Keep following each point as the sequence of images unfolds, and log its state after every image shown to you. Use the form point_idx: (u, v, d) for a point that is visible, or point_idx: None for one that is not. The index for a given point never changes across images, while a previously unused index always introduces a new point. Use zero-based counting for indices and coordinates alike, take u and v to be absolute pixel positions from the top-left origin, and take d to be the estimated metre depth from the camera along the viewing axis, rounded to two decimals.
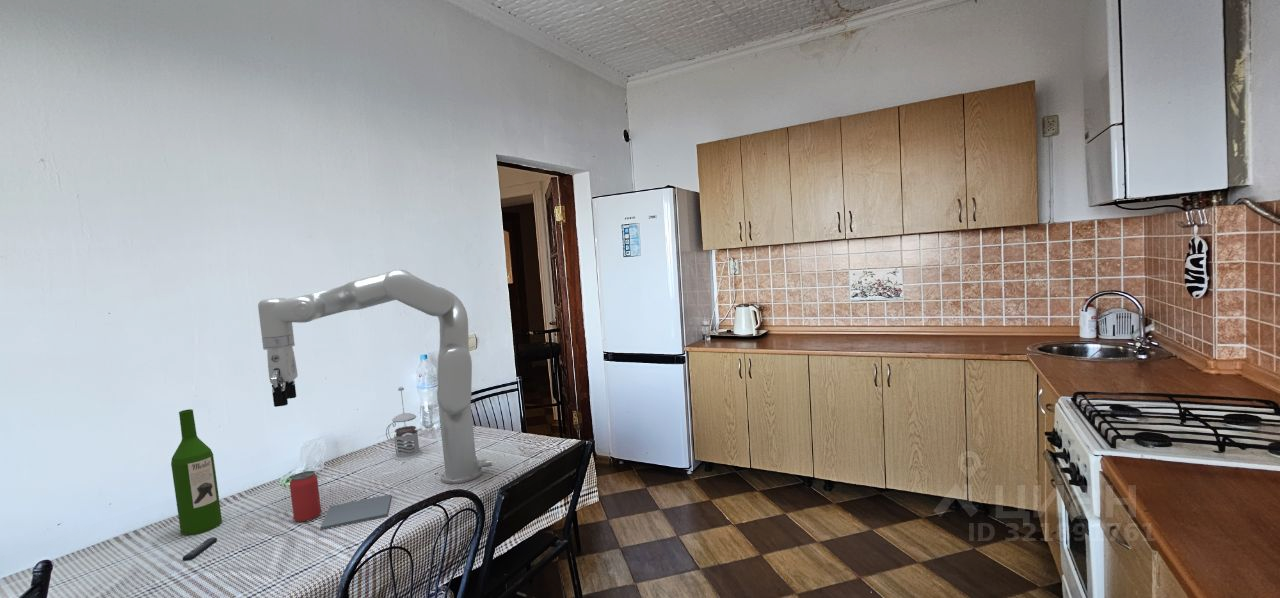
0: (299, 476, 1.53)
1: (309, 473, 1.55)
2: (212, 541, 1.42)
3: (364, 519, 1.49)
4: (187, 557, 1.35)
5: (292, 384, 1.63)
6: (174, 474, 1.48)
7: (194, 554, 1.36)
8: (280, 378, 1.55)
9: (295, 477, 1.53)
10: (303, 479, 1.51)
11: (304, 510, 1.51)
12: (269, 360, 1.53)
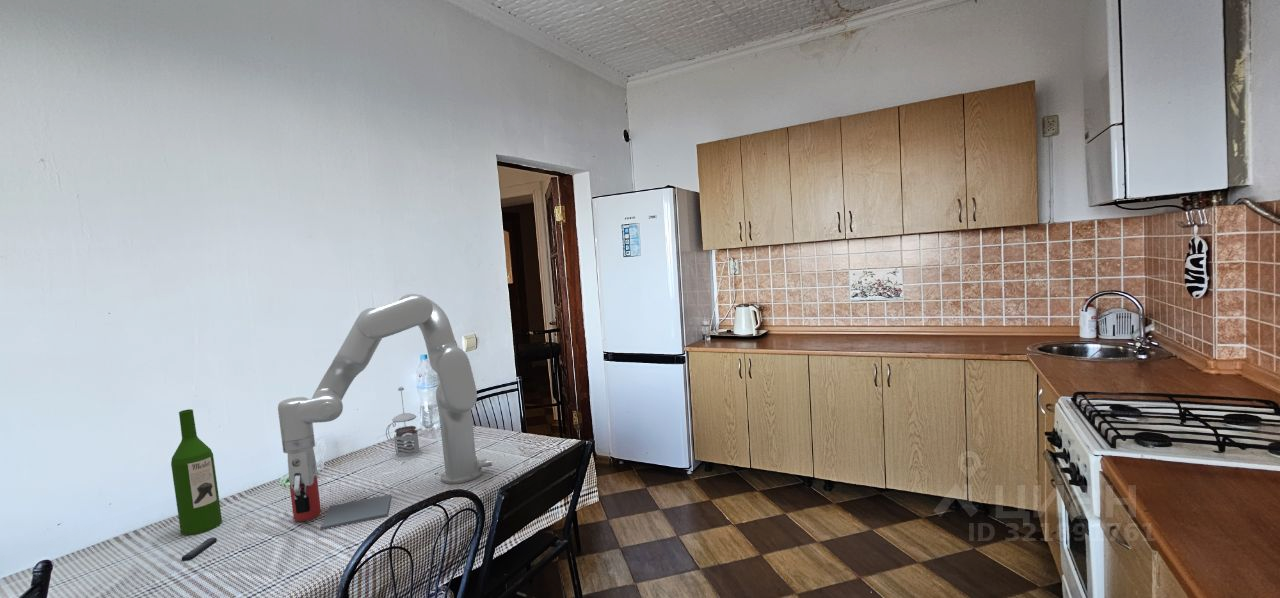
0: None
1: None
2: (212, 541, 1.42)
3: (364, 519, 1.49)
4: (186, 557, 1.35)
5: None
6: (174, 474, 1.48)
7: (193, 554, 1.36)
8: (301, 482, 1.50)
9: None
10: None
11: None
12: (290, 465, 1.48)
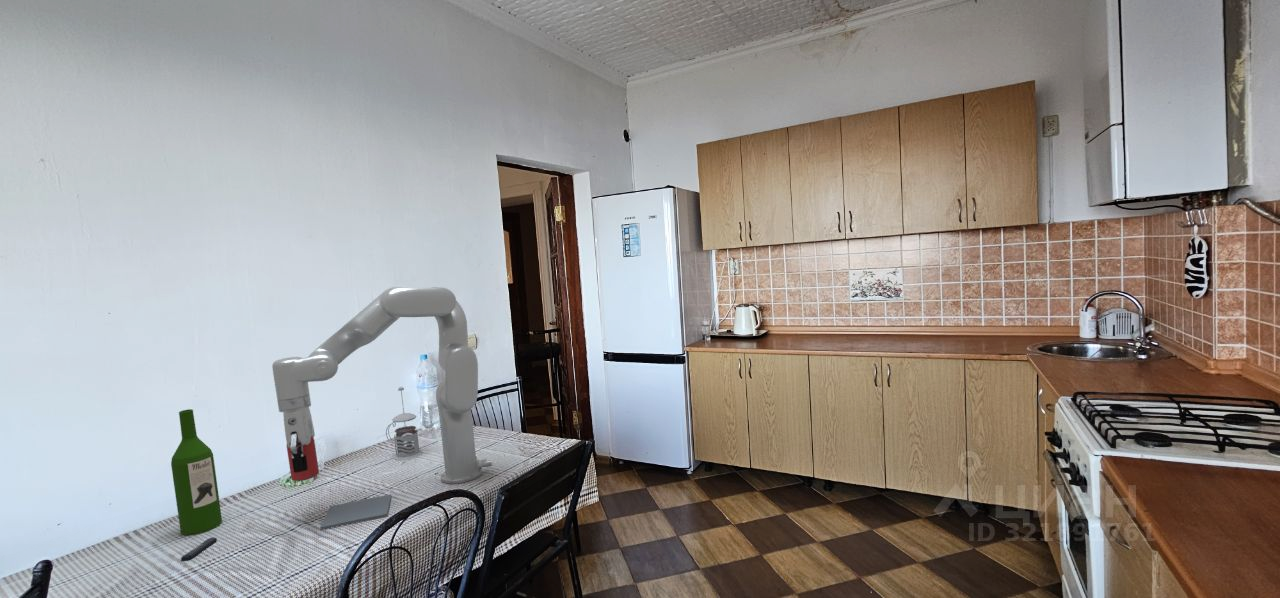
0: None
1: None
2: (212, 541, 1.42)
3: (364, 519, 1.49)
4: (185, 557, 1.35)
5: None
6: (174, 474, 1.48)
7: (193, 554, 1.36)
8: (297, 441, 1.50)
9: None
10: None
11: None
12: (286, 423, 1.48)
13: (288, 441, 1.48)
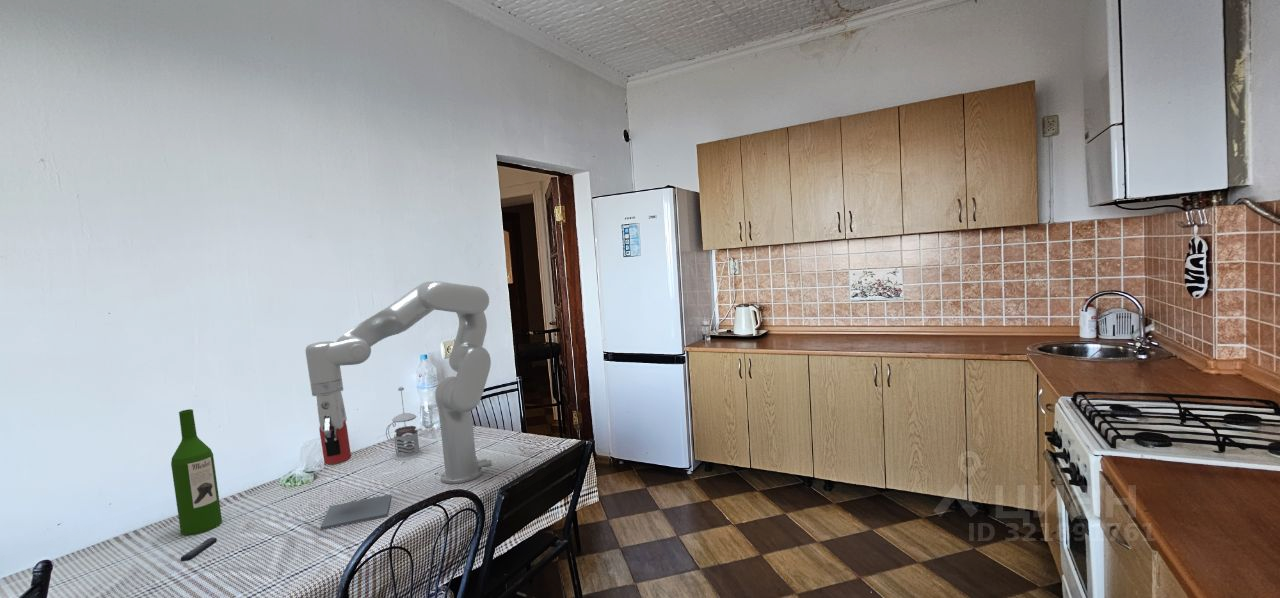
0: None
1: None
2: (211, 541, 1.42)
3: (364, 519, 1.49)
4: (185, 557, 1.35)
5: None
6: (174, 474, 1.48)
7: (193, 554, 1.36)
8: (330, 425, 1.50)
9: None
10: None
11: None
12: (319, 407, 1.48)
13: (321, 425, 1.48)
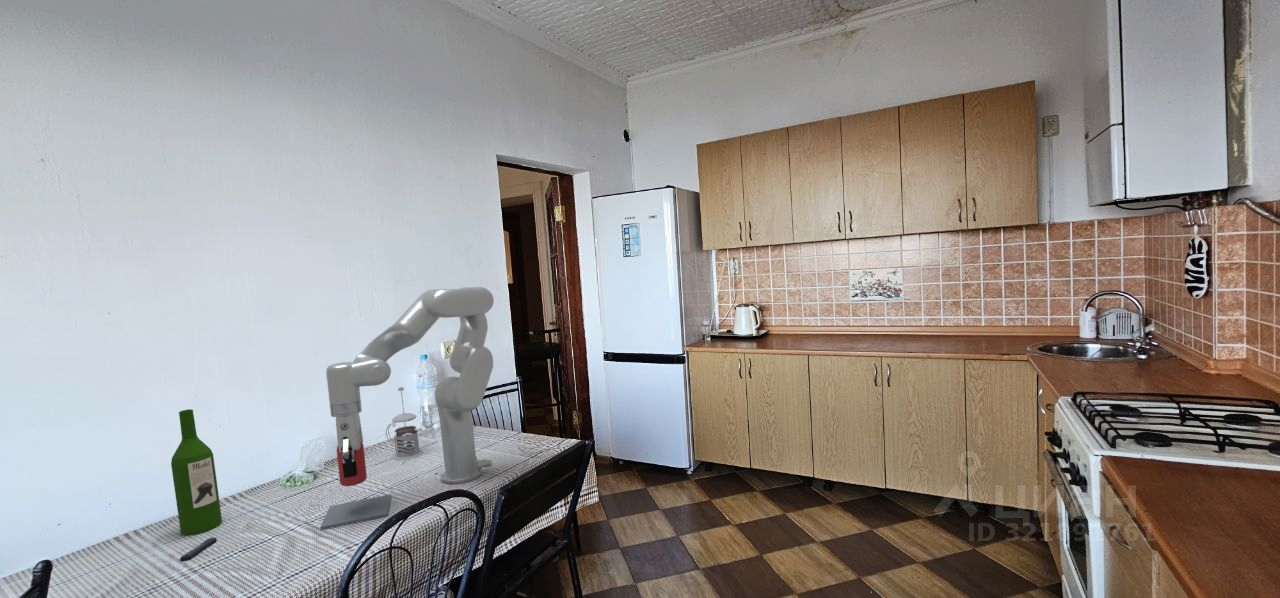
0: None
1: None
2: (211, 541, 1.42)
3: (364, 519, 1.49)
4: (184, 557, 1.35)
5: None
6: (174, 474, 1.48)
7: (192, 554, 1.36)
8: (348, 446, 1.50)
9: None
10: None
11: None
12: (338, 428, 1.48)
13: (340, 446, 1.48)
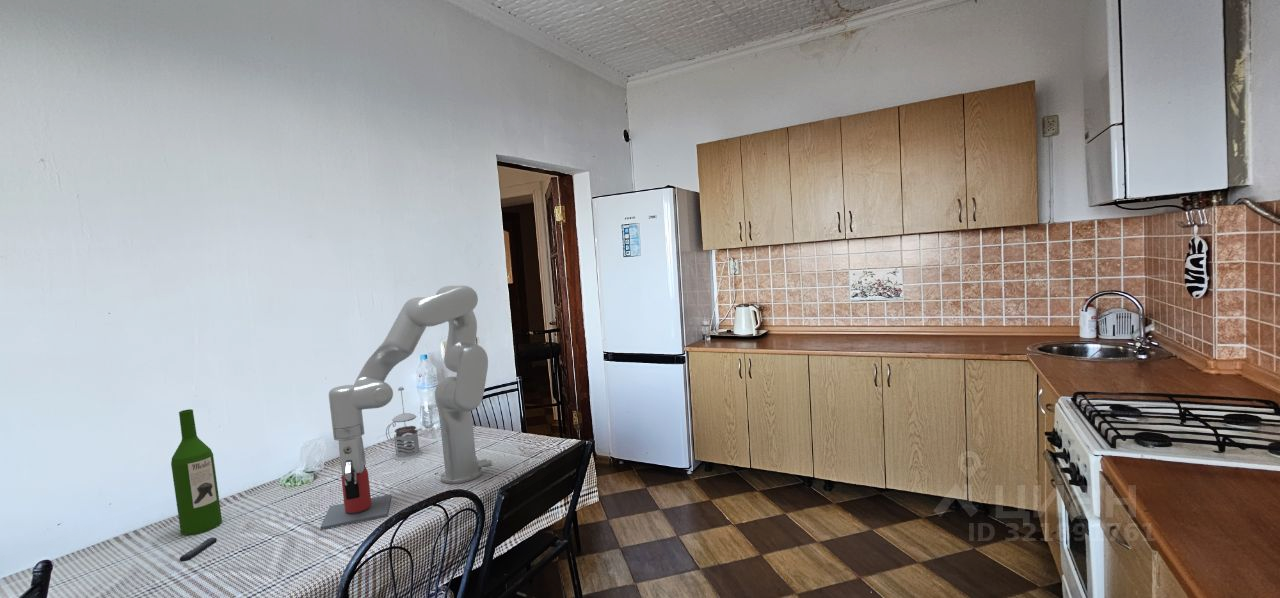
0: None
1: None
2: (211, 541, 1.42)
3: (364, 519, 1.49)
4: (184, 557, 1.35)
5: None
6: (174, 474, 1.48)
7: (191, 554, 1.36)
8: (351, 469, 1.51)
9: None
10: None
11: (356, 502, 1.52)
12: (341, 452, 1.49)
13: (343, 469, 1.49)
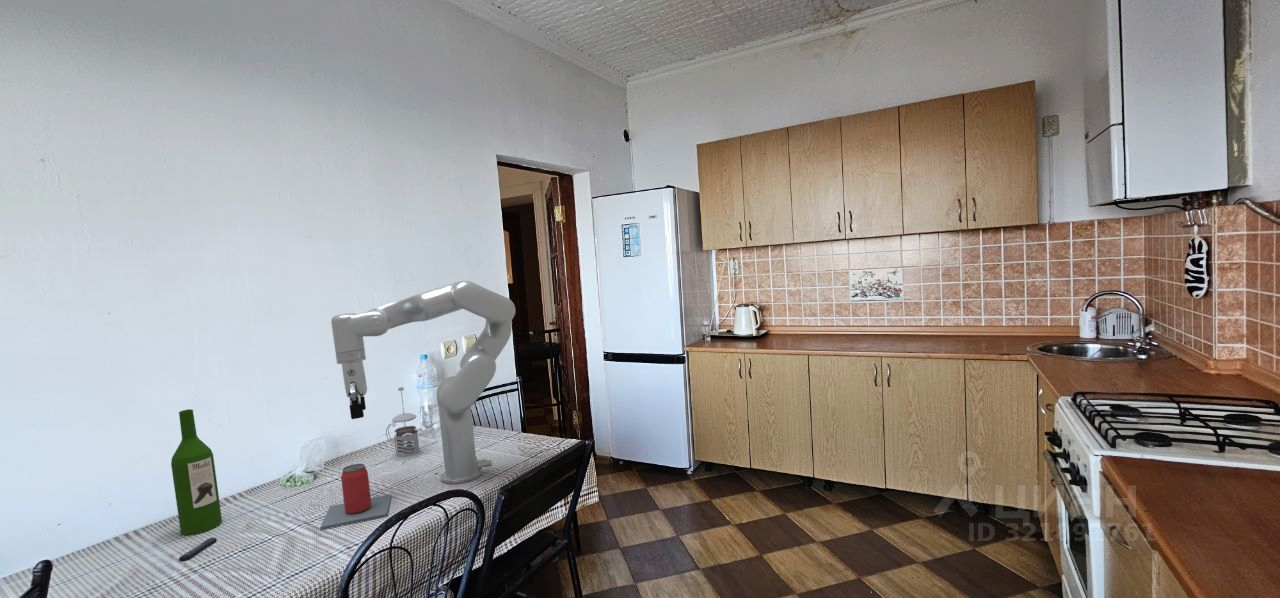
0: (350, 468, 1.54)
1: (359, 465, 1.56)
2: (211, 541, 1.42)
3: (364, 519, 1.49)
4: (183, 557, 1.35)
5: (362, 396, 1.68)
6: (174, 474, 1.48)
7: (191, 555, 1.36)
8: (355, 391, 1.60)
9: (346, 469, 1.54)
10: (355, 471, 1.52)
11: (355, 502, 1.52)
12: (345, 374, 1.57)
13: (347, 391, 1.57)
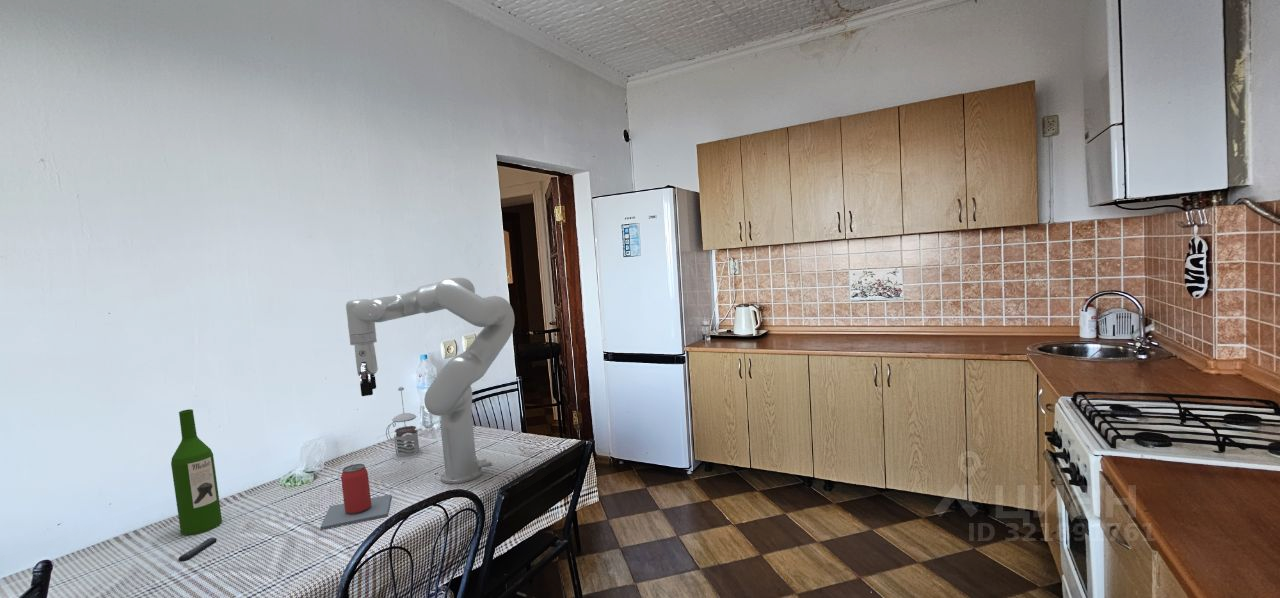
0: (350, 468, 1.54)
1: (359, 465, 1.56)
2: (211, 541, 1.42)
3: (364, 519, 1.49)
4: (183, 557, 1.35)
5: (373, 376, 1.82)
6: (174, 474, 1.48)
7: (190, 555, 1.36)
8: (366, 371, 1.74)
9: (346, 469, 1.53)
10: (355, 471, 1.52)
11: (355, 502, 1.52)
12: (357, 354, 1.71)
13: (358, 370, 1.72)
